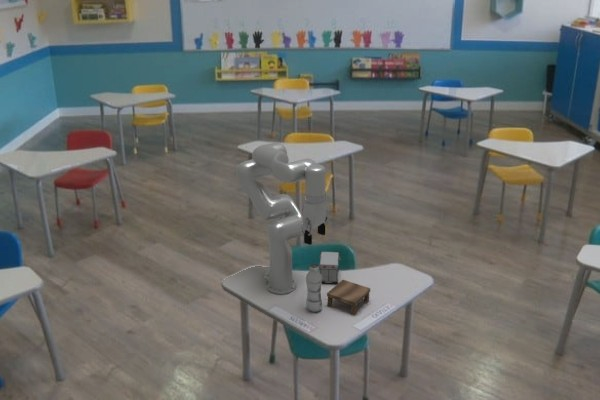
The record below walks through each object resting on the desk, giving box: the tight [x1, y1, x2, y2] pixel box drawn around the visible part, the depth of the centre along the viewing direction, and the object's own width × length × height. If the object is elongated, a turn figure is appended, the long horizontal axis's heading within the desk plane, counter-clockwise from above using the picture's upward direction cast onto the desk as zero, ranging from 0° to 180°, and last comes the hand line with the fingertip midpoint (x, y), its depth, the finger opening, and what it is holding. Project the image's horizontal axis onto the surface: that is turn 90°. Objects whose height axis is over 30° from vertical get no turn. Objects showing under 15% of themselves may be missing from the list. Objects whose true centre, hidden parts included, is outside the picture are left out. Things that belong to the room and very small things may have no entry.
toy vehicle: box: [319, 251, 341, 284], centre depth 254 cm, size 10×17×10 cm, turn 175°
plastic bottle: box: [305, 263, 323, 313], centre depth 227 cm, size 6×7×20 cm
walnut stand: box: [326, 279, 371, 316], centre depth 234 cm, size 13×13×6 cm
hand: (314, 238), depth 218 cm, fingers open, 9 cm apart
